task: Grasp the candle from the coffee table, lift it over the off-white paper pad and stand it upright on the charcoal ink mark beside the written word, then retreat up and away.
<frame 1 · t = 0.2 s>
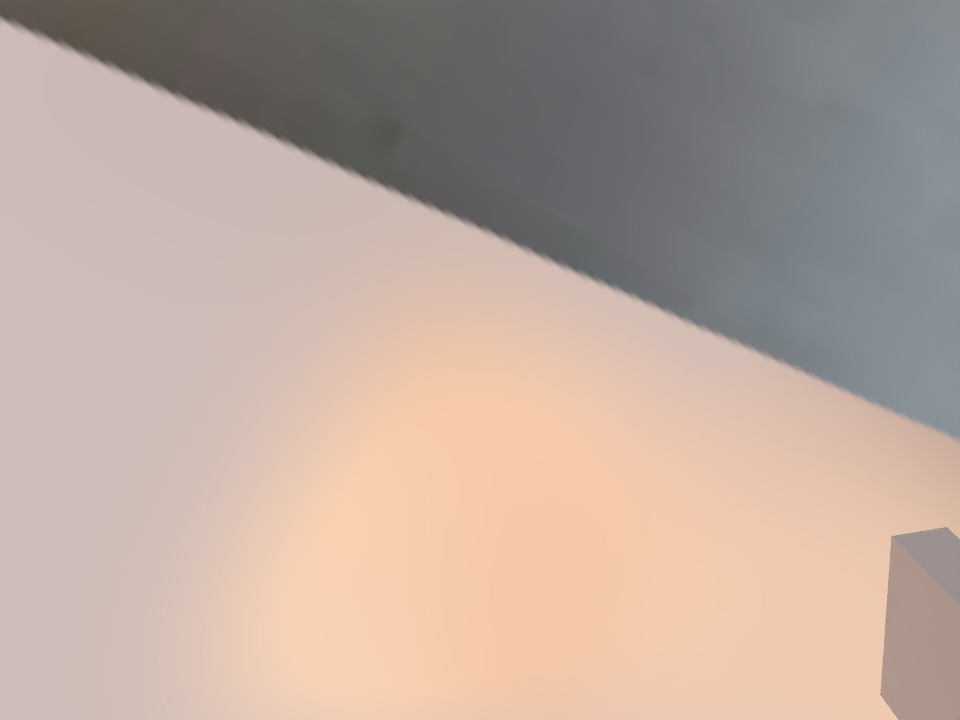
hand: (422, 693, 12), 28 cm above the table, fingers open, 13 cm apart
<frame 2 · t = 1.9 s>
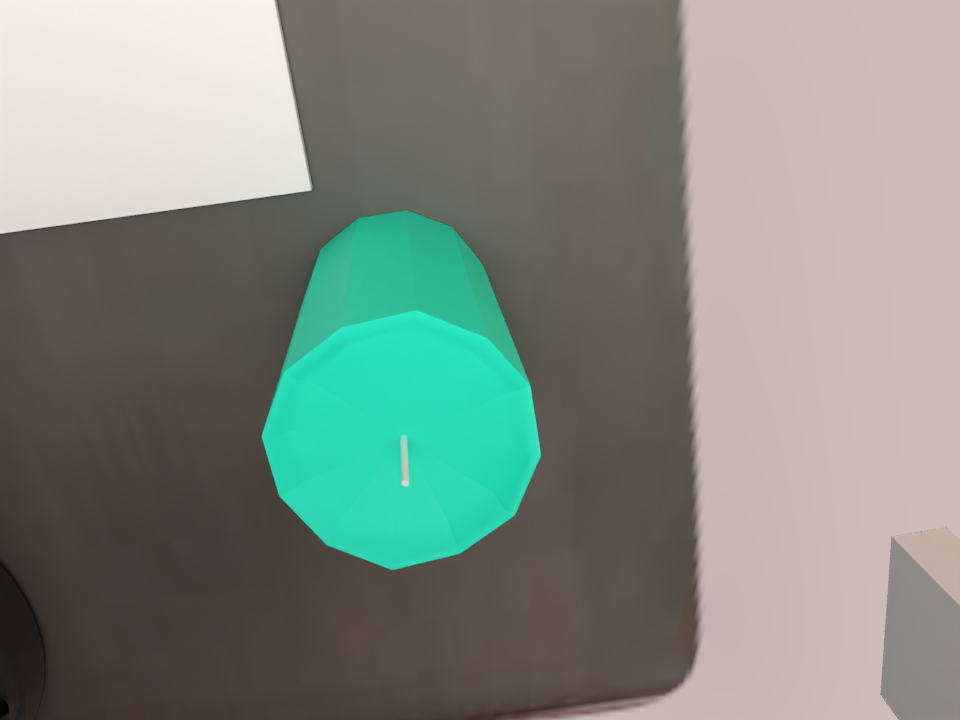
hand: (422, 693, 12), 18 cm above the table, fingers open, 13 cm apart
candle: (398, 299, 28), on the table
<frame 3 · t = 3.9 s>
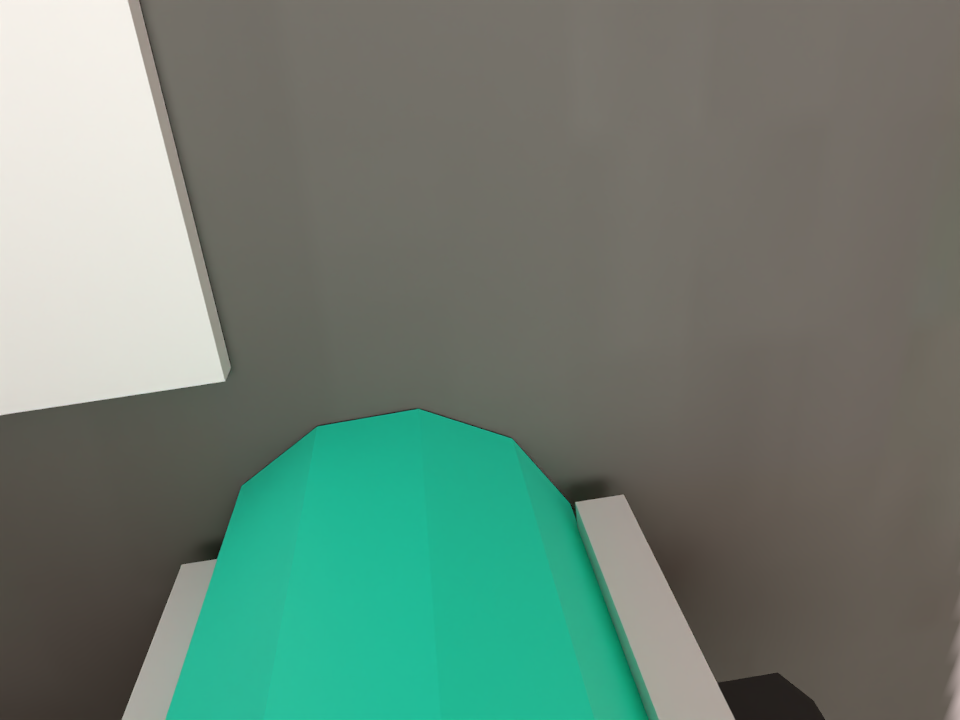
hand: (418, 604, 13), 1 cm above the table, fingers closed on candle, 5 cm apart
candle: (401, 567, 14), on the table, touching gripper
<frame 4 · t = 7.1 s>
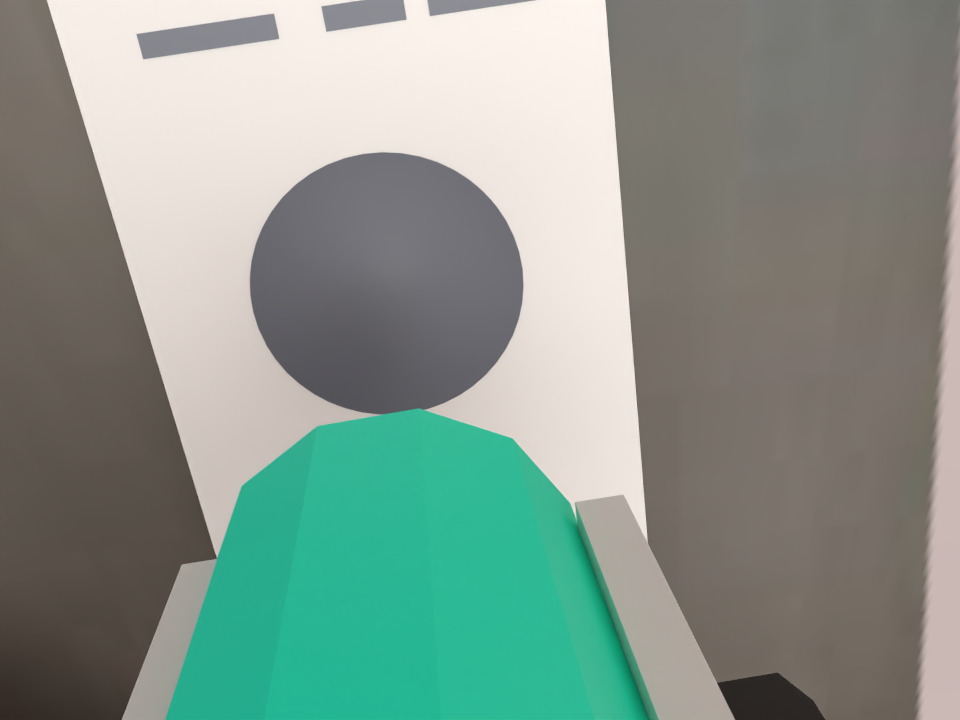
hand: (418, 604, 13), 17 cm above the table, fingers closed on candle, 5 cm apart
candle: (401, 567, 14), point 16 cm above the table, touching gripper
paper pad: (388, 286, 29), on the table
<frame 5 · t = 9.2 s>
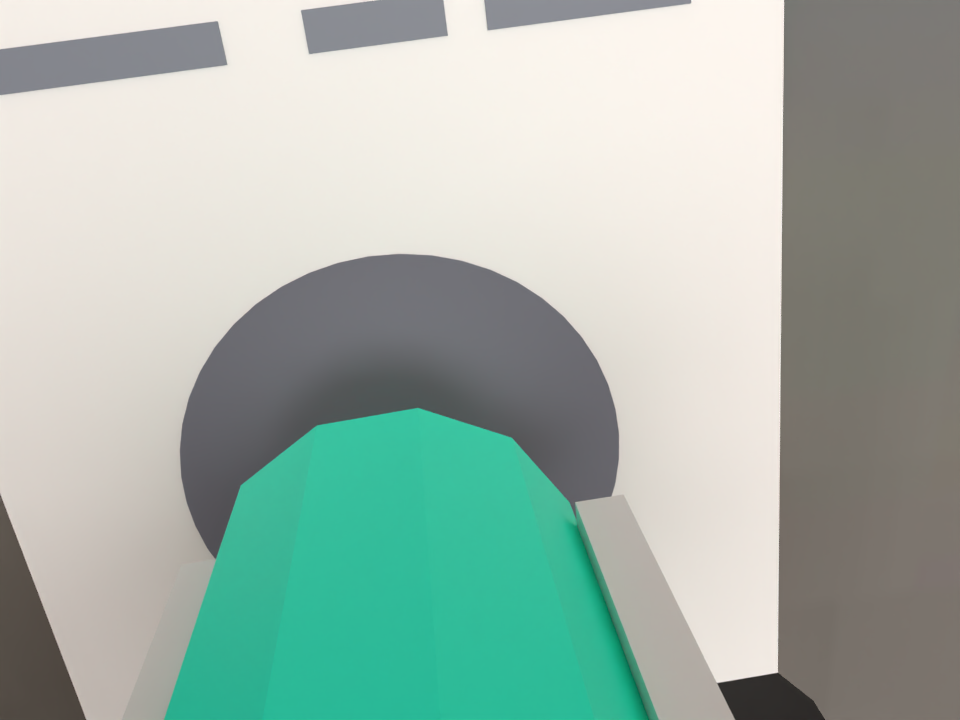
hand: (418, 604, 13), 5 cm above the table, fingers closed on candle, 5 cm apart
candle: (401, 566, 14), point 4 cm above the table, touching gripper
paper pad: (404, 455, 18), on the table
when the fingers open (3 cm above the table, at t = 10.5 s): candle stays where it is, resting on paper pad.
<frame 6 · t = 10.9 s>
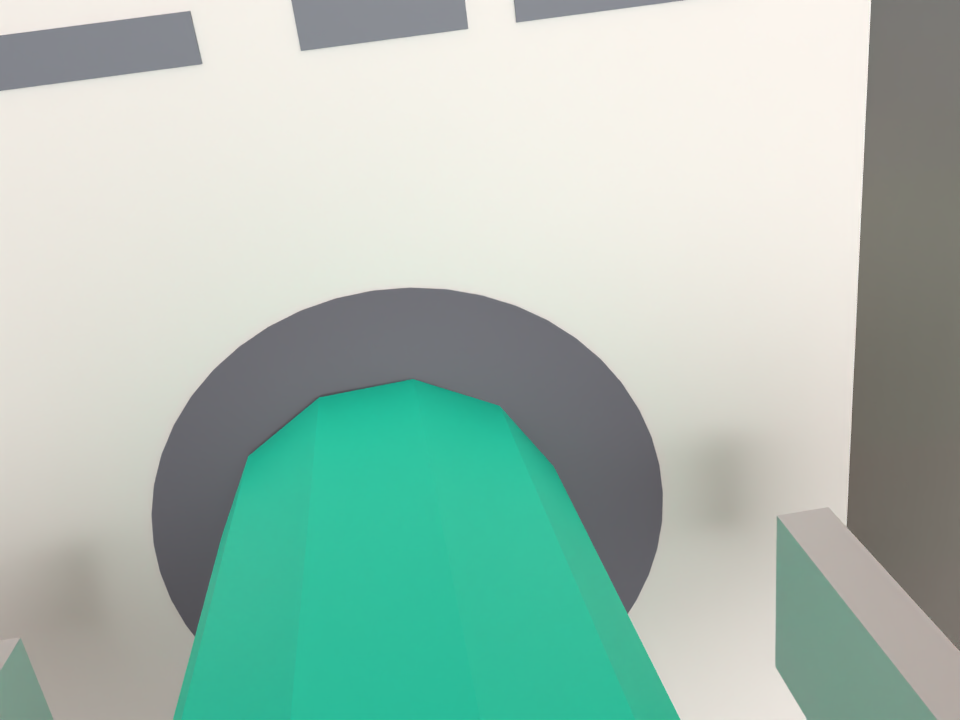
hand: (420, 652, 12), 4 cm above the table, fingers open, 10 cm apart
candle: (398, 533, 15), point 1 cm above the table, touching paper pad
paper pad: (414, 515, 16), on the table
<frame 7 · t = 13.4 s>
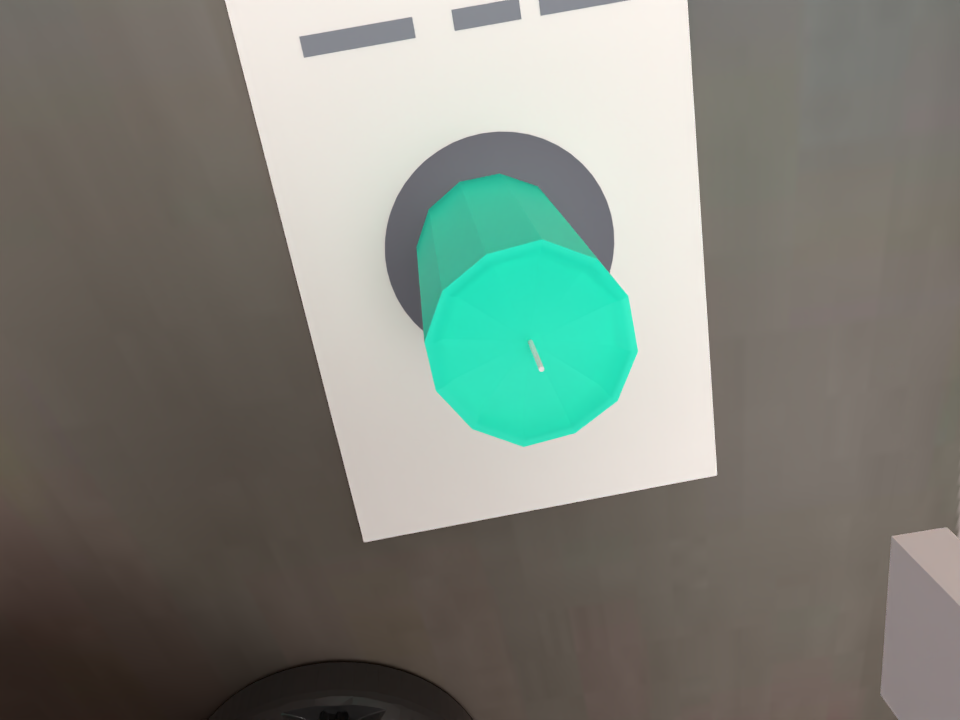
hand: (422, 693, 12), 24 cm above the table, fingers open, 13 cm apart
candle: (492, 249, 33), resting on paper pad
paper pad: (499, 246, 34), on the table
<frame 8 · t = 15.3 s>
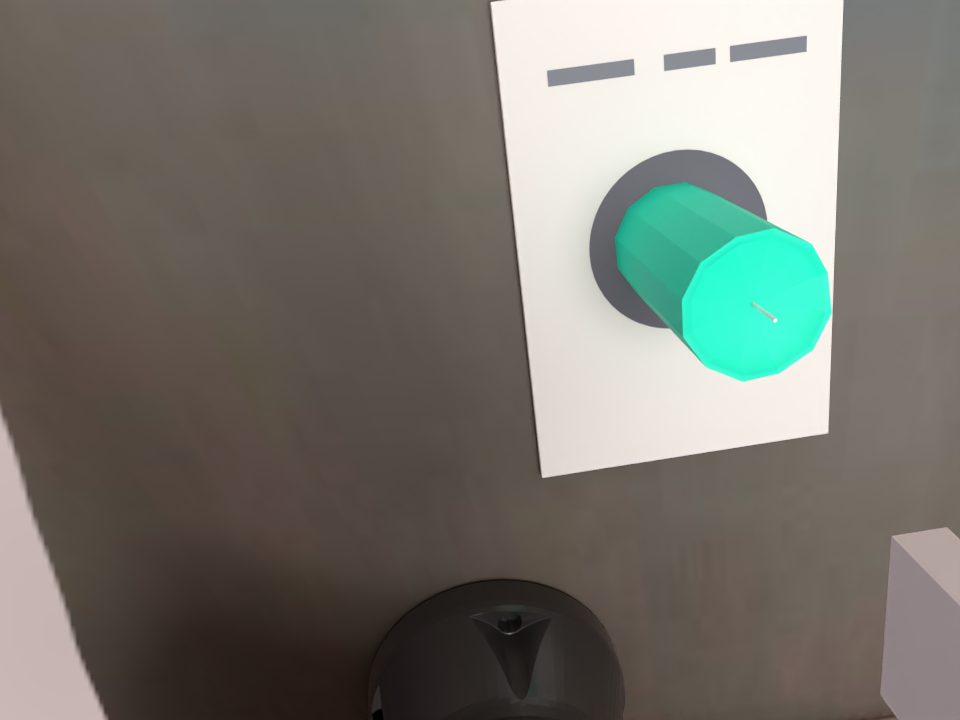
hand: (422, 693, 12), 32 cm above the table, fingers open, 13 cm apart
candle: (672, 242, 42), resting on paper pad
paper pad: (675, 239, 43), on the table
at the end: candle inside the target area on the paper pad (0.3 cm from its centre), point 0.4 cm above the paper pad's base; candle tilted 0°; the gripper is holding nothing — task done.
